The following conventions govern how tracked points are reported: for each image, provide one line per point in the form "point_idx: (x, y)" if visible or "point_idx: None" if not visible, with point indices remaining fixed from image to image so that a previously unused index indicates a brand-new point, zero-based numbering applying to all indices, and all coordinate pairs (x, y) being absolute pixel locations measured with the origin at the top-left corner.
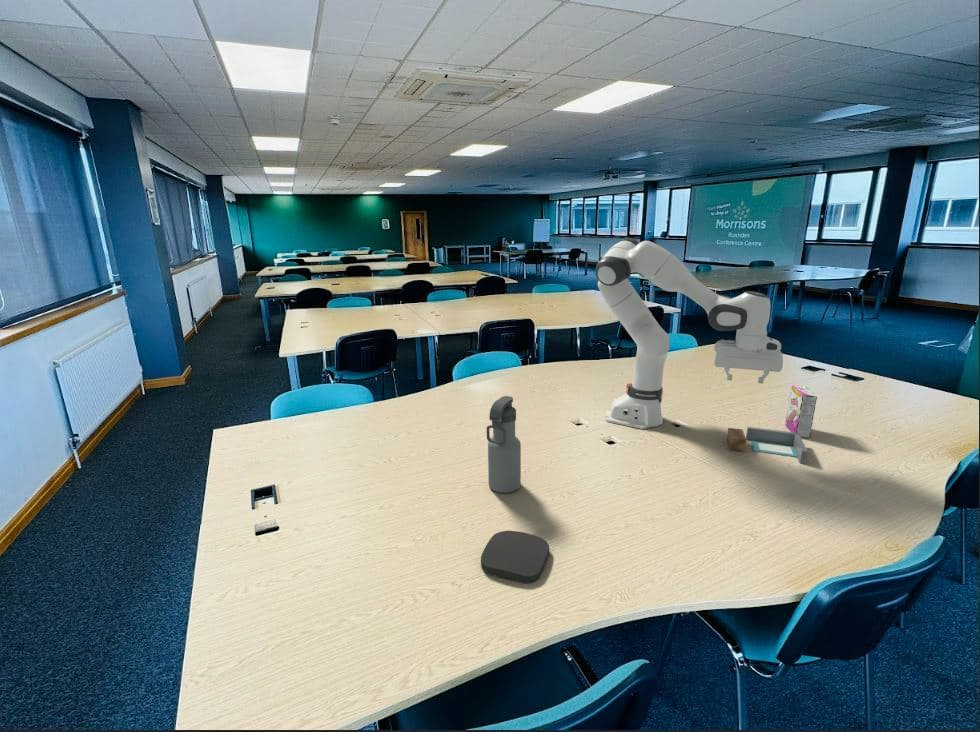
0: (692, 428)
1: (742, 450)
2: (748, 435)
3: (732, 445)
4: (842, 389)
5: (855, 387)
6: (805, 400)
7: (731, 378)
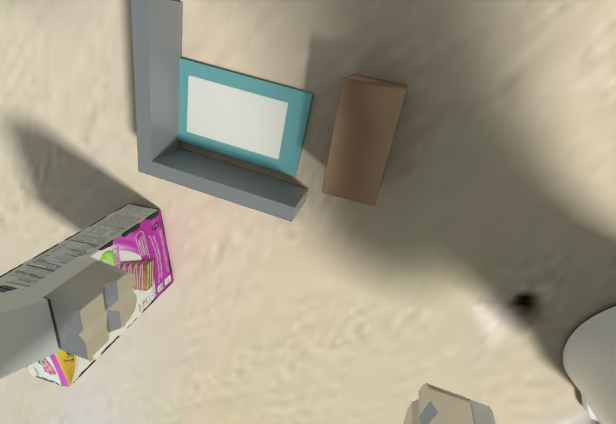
0: (470, 277)
1: (359, 76)
2: (298, 193)
3: (399, 86)
4: (50, 413)
5: (32, 415)
6: (40, 279)
7: (439, 410)
